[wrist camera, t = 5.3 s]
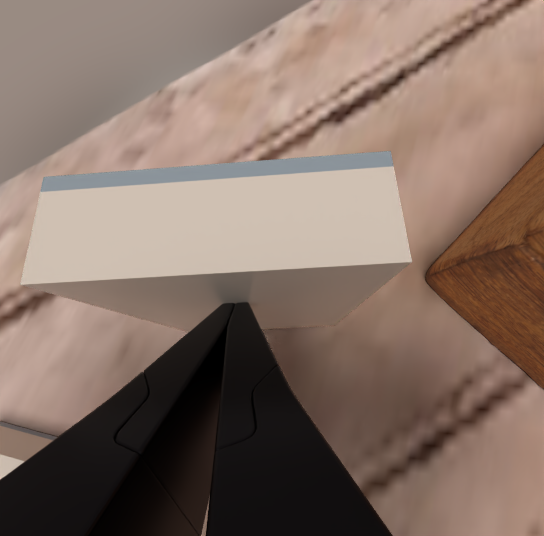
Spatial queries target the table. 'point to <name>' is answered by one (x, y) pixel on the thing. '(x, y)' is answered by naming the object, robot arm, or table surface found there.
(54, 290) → the white rectangular block
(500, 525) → the table surface
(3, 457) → the flat tile
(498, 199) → the wooden box
